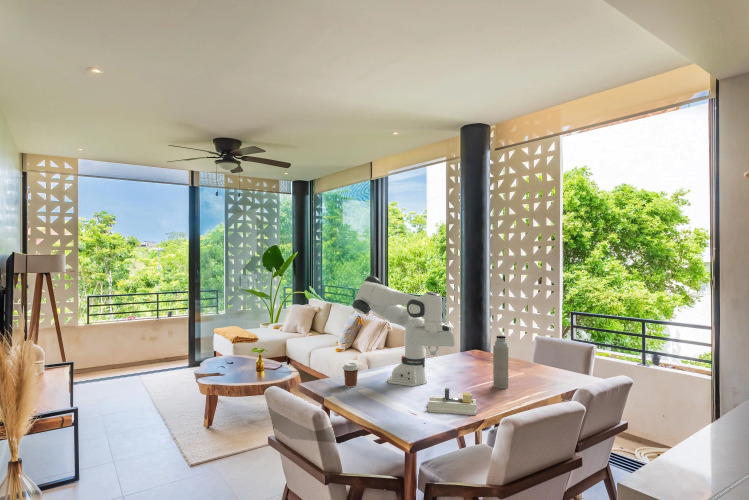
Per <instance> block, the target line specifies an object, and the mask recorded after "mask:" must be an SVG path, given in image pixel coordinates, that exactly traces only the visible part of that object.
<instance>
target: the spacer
mask: <svg viewBox="0 0 749 500" xmlns="http://www.w3.org/2000/svg"><path fill="white" fill-rule="evenodd" d="M472 396H473V395H472V392H462V398H463V403H472V399H473V398H472Z"/></svg>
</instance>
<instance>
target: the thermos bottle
mask: <svg viewBox="0 0 749 500" xmlns="http://www.w3.org/2000/svg"><path fill="white" fill-rule="evenodd" d="M492 348H493V358H492V359H493V362H492V363H493V376H492V377H493V383H492V384H493V385H492V386H493V387H494V388H496V389H500V390H501V389H508V388H509V346H508V342H507V341H506V336H505V335H496V339H495V341H494V345H493V347H492Z"/></svg>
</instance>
